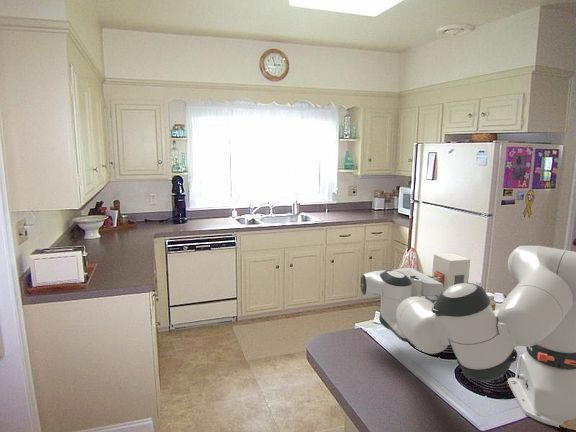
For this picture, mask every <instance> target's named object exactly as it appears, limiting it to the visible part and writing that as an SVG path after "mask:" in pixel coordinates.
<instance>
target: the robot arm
mask: <svg viewBox="0 0 576 432" xmlns="http://www.w3.org/2000/svg"><path fill="white" fill-rule="evenodd" d="M507 270H508V273H509V275H510V276H511V278H513V279H514V280H515V281H517V282H518V283H517V284H516V286H515V287H514V288H513V289H512V290H511V291H510V292H509V293H508V294H507V296H506V297H505V298H504V300H503V302H502V303H501V305H500V307H498V308H497V309H495V310H494V311H493V309H492V307H491V305H490V299H489V297H488V295H487V294H486V291H485V290H484V288H483V287H482V286H481V285H479V284H476V283H473V282H468V283H459V284H455V285H452V286H450V287H448V288H446V289H445V290H444V291H443V284H442V283H440V278H438V277H436V276H432V275H430V274H429V275H428V274H424V273H422V272H420V271H418V270H416V269H414V268H412V267H403V268H397V269H391V270H385V269H384V270H374V271H369V272H366V273H363V274H362V275H361V277H360V289H361V293H362V295H363V296H364V297H380V310H379V318H378V321H379V323H380V324H381V325H382V326H383V327H384V328H386V329H387V330H389V331H391V332H392V334H394V335H395V337H397V338H398V339H399V340H400V341H403V342H405V343H410V344H412V345H413V346H414V347H415V348H416V349H418V350H419V351H422V352H423V353H425V354H432V355H433V354H438V353H441V352H444V351H445V350H446V349H447V348H448V347H449V346H451V348H452V351H453V354H454V355H455V357H456V363H458V366H459V368H460V369H461V371H462V372H463V374H464V375H466V377H467V378H469V379H470V380H474V381H477V382H493V381H497V380H498V379H500V378H501V377H503V375H505V374H506V373H507V372H508V371H509V369H510V368H511V365H512V364H513V363H515V362H516V361H517V366H516V371H515V376H513V377H509V378H508V379H507V382H508V383H507V385H508V384H509V385H508V386H509V388H510V390H511V392H512V393H513V395H514V397H515V399H516V401H517V403H518V406H520V408H521V410H522V412H523V414H524V415H525V416H527V417H529V418H531V419H532V420H536V421H538V422H539V423H543V424H546V425H550V426H552V427H557V428H560V427H559V425H561V424H563V423H564V421H566V420H572V419H575V418H576V251H573V250H566V249H561V248H555V247H549V246H543V245H519V246H518V247H516V248H514V250H512V251H511V253H510V254H509V256H508V259H507ZM436 295H439V296H438V298H437V301H435V302H434V304H433V303H432V302H431V301H429V300H428V299H425V297H426V296H436ZM517 347H526V348H525V349H526V350H525V352H523V353H521V354H520V355H518V352H517V350H516V349H515V348H517ZM517 358H518V359H517ZM560 429H561V428H560Z"/></svg>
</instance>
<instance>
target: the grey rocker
mask: <svg viewBox="0 0 576 432" xmlns="http://www.w3.org/2000/svg"><path fill="white" fill-rule="evenodd" d="M424 298H425V299H428V300H429V301H431V302H432V303H433V304H434V302H435V301H437V298H438V296H437V295H436V296H426V297H425V296H424Z"/></svg>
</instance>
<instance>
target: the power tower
mask: <svg viewBox="0 0 576 432" xmlns="http://www.w3.org/2000/svg"><path fill="white" fill-rule="evenodd" d="M432 261H433V262H432V273H431V276H434V272H440V273H442V274H445V276H444V286H443V291H444V290H445V289H446V288H448V287H450V286H452V285H455V284H459V283H469V277H470V267H471V259H470V258H468V257H464V256H461V255H459V254H456V253H453V252H452V253H451V252H450V253H449V252H448V253H435V254H433V260H432ZM437 296H439V295H437Z"/></svg>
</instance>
